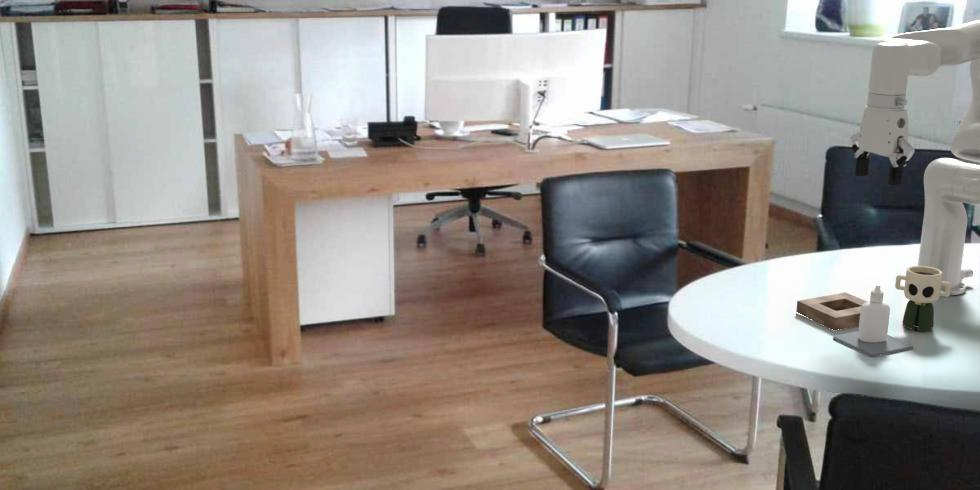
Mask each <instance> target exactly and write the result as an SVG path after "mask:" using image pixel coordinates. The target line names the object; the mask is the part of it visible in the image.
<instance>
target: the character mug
mask: <svg viewBox="0 0 980 490" xmlns="http://www.w3.org/2000/svg"><path fill="white" fill-rule="evenodd" d="M902 280H904V281H905V282H904V285H901V281H902ZM941 285H942V286H946V288H945V292H940V289H941ZM894 287H895V289H896V290H900V291H903V293H904V296H905V298H906V299H908V301H907V303H906V305H905V306H906V307H905V309H904V313H903V317H902V321H901V322H902V326H904V327H905V328H907V329H910V330H914V328H915V327H917V331H929V330H932V329H933V328H934V327H935V318H934V316H935V311H934V305H933V303H936V302H937V301H938V300H939V299H940V297H944V298H948V297H950V296H951V295H950V289H951V283H949V282H945V281H942V271H940V270H939V269H936V268H932V267H926V266H918V265H913V266H909V267H907V268H906V273H905V275H902V274H897V275H896V277H895V286H894Z"/></svg>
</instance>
